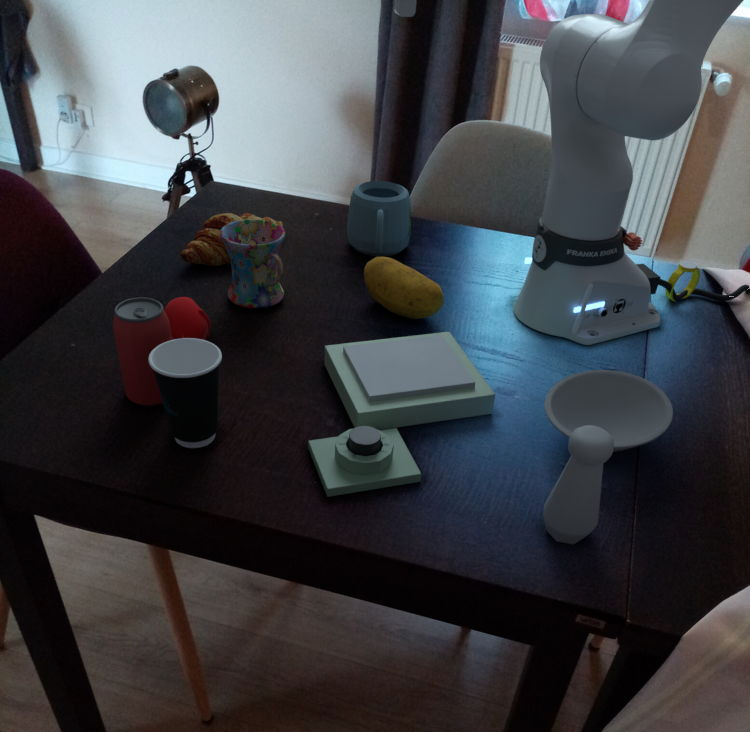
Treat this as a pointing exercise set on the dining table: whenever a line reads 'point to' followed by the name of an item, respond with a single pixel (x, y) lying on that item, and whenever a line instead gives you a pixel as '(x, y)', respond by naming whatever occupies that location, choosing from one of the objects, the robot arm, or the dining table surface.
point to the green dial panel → (363, 464)
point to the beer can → (140, 346)
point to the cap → (187, 319)
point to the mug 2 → (379, 218)
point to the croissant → (214, 240)
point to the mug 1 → (254, 262)
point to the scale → (407, 381)
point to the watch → (682, 267)
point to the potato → (402, 288)
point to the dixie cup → (189, 388)
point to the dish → (610, 406)
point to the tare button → (364, 441)
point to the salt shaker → (578, 486)
